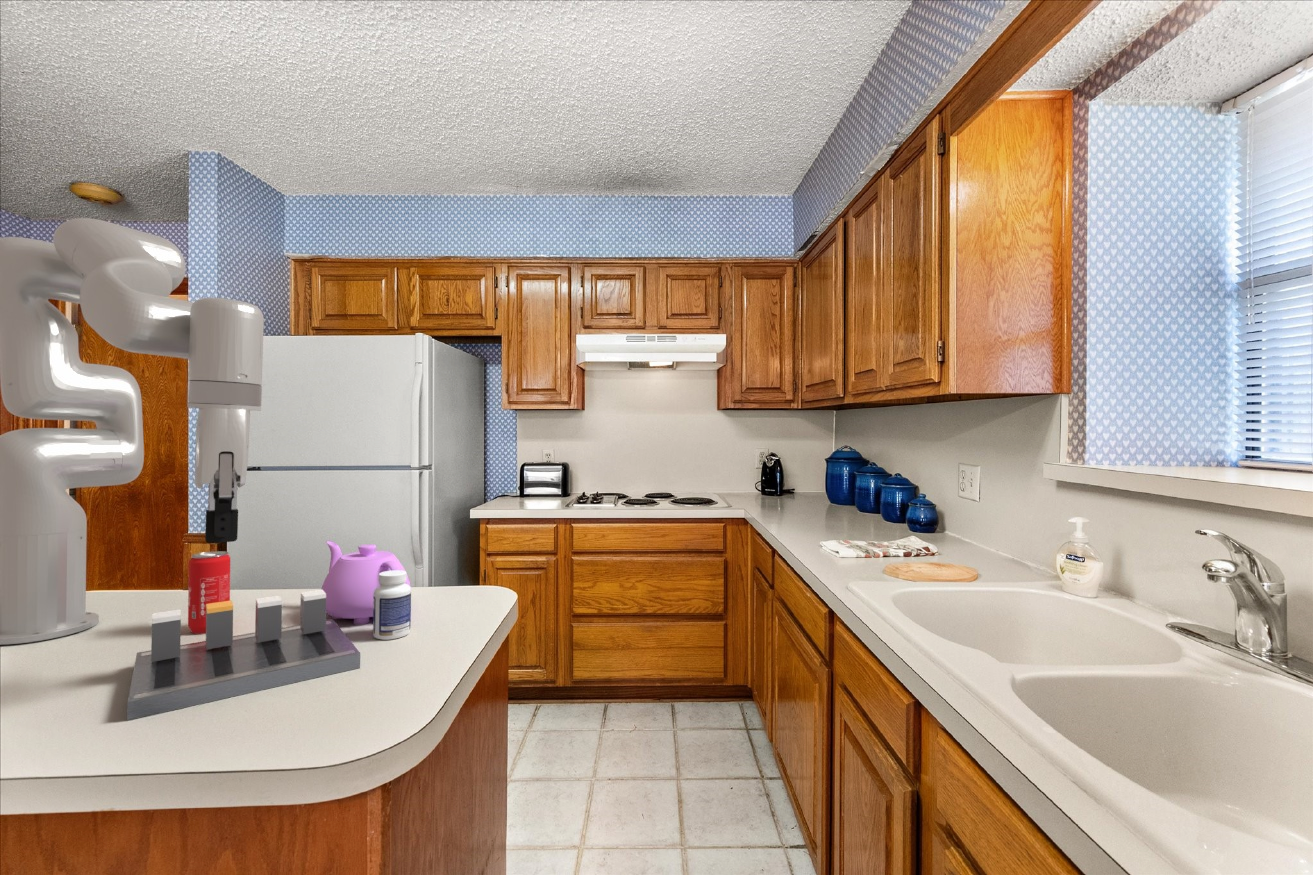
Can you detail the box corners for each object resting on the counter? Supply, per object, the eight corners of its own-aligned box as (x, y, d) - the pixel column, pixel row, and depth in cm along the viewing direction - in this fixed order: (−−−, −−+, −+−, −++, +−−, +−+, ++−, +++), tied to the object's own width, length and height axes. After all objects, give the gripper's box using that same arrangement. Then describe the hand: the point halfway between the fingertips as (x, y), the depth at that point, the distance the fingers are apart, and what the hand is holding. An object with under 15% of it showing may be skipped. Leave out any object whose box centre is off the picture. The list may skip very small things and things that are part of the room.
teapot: (287, 615, 98) (288, 545, 98) (363, 596, 111) (364, 533, 111) (361, 636, 89) (362, 558, 89) (435, 612, 101) (436, 543, 101)
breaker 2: (255, 636, 81) (255, 598, 81) (278, 632, 83) (279, 595, 83) (257, 642, 79) (257, 603, 79) (281, 638, 81) (282, 600, 81)
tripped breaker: (205, 643, 78) (206, 603, 78) (231, 638, 80) (231, 600, 80) (206, 649, 76) (207, 609, 76) (232, 644, 78) (233, 605, 78)
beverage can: (206, 636, 88) (207, 558, 88) (179, 633, 89) (180, 556, 89) (237, 625, 93) (238, 551, 93) (211, 622, 94) (212, 550, 94)
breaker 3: (300, 628, 85) (300, 592, 85) (321, 624, 86) (322, 589, 86) (303, 634, 82) (304, 596, 82) (325, 630, 84) (326, 593, 84)
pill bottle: (418, 632, 91) (419, 571, 91) (389, 642, 86) (390, 578, 86) (394, 626, 93) (395, 567, 93) (365, 637, 88) (365, 574, 88)
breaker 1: (152, 654, 74) (152, 613, 74) (180, 649, 76) (180, 609, 76) (151, 661, 72) (151, 619, 72) (180, 656, 74) (180, 614, 74)
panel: (136, 667, 76) (136, 652, 76) (332, 631, 90) (332, 618, 90) (127, 720, 62) (127, 701, 62) (360, 667, 77) (360, 652, 77)
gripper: (186, 397, 76) (182, 534, 76) (188, 394, 65) (183, 555, 65) (255, 401, 81) (251, 529, 81) (268, 398, 69) (263, 548, 70)
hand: (221, 540), depth 73 cm, fingers closed
